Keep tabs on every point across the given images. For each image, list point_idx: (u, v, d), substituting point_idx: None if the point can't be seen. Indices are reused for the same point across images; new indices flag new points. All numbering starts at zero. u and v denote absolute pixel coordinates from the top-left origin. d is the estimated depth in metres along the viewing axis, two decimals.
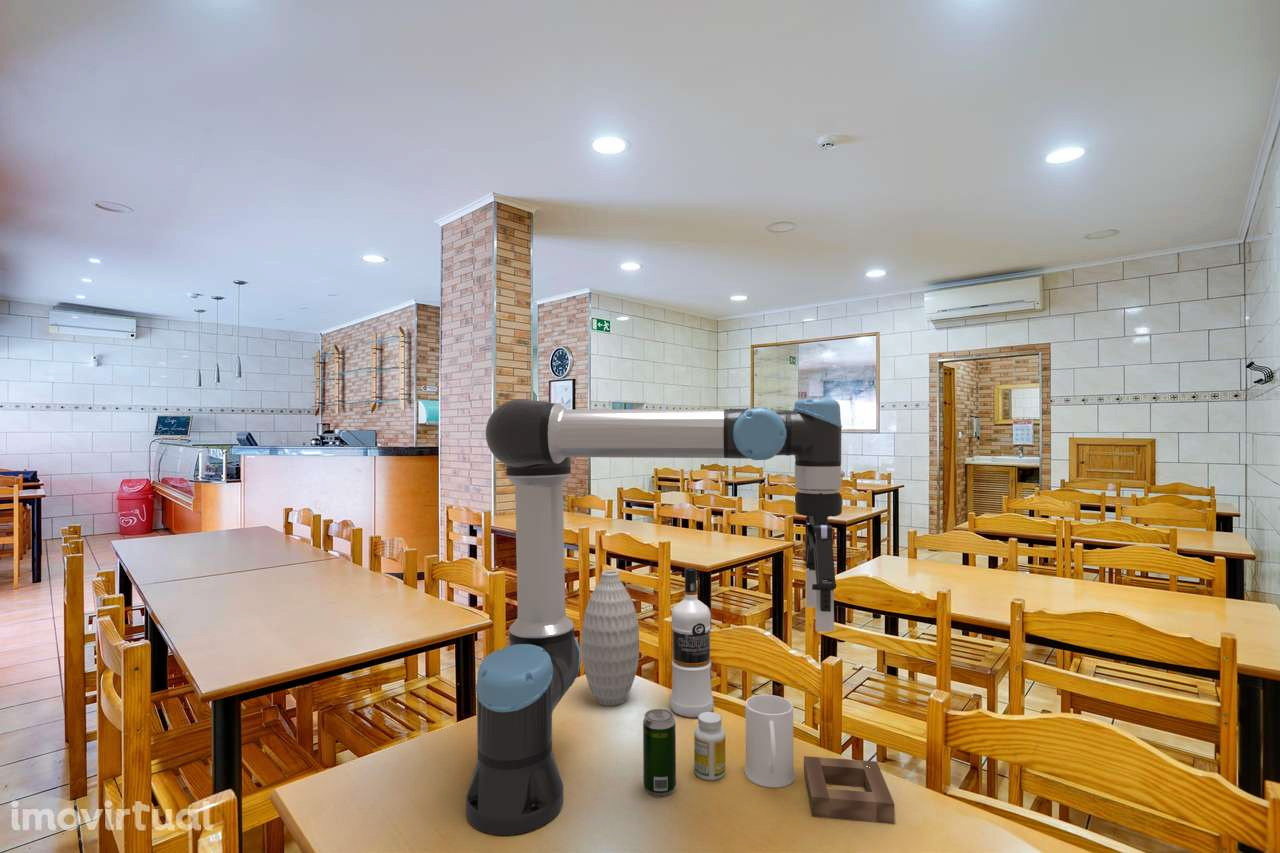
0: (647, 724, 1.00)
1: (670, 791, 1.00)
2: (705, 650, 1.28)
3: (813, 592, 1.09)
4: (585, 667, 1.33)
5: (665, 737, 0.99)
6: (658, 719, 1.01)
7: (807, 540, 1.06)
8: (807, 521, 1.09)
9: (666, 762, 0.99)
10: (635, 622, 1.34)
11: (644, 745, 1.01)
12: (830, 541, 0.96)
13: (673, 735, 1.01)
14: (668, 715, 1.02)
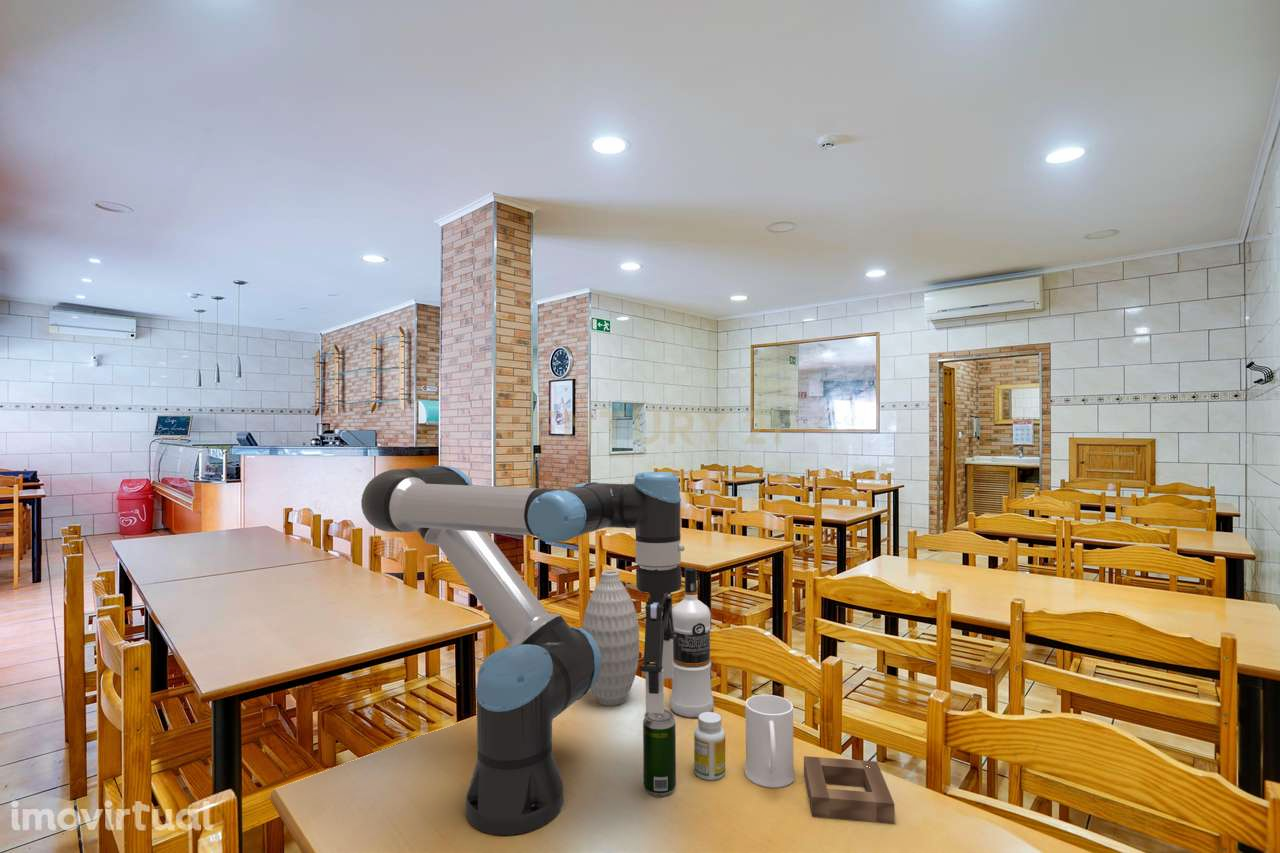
0: (647, 724, 1.00)
1: (670, 791, 1.00)
2: (705, 650, 1.28)
3: (664, 663, 1.08)
4: None
5: (665, 737, 0.99)
6: (658, 719, 1.01)
7: None
8: None
9: (666, 762, 0.99)
10: (635, 622, 1.34)
11: (644, 745, 1.01)
12: (659, 621, 0.95)
13: (673, 735, 1.01)
14: (668, 715, 1.02)
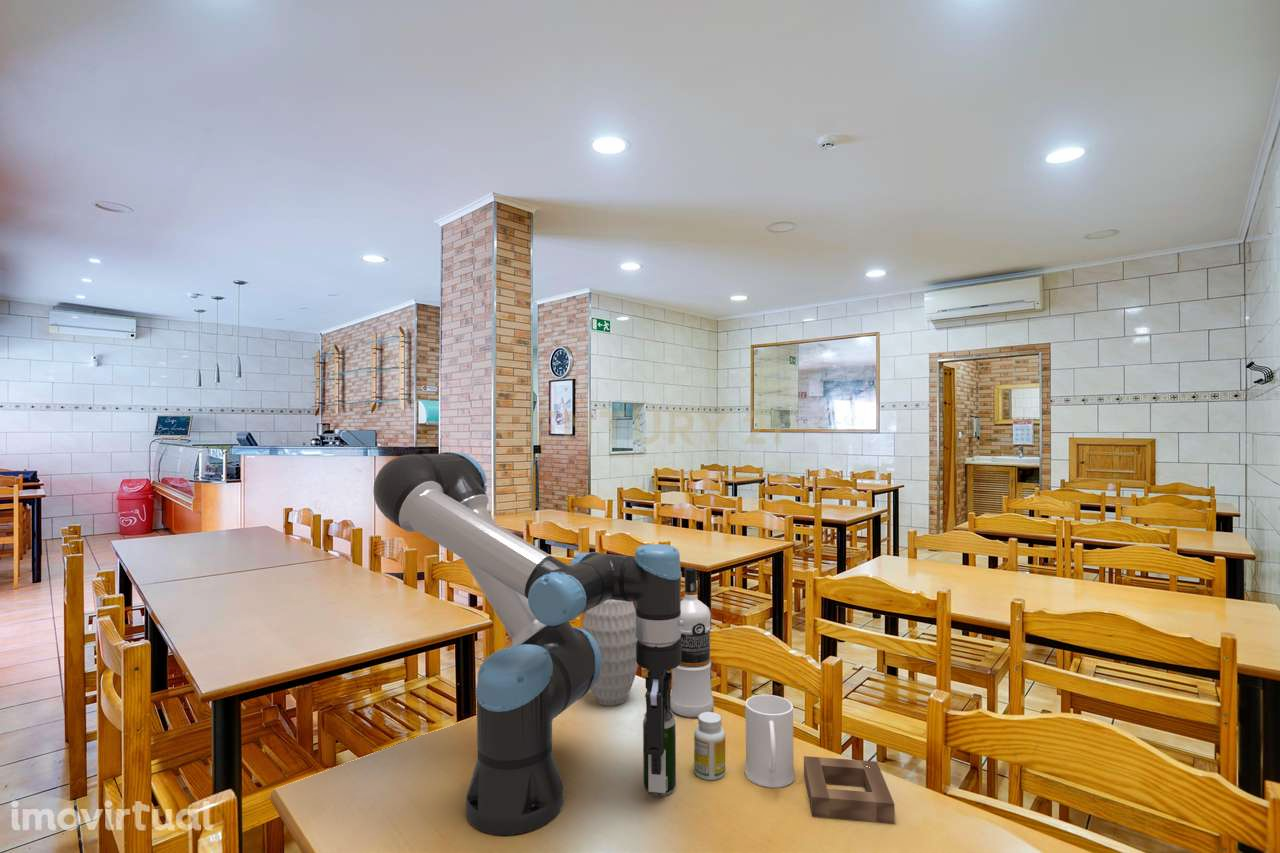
0: None
1: (670, 791, 1.00)
2: (705, 650, 1.28)
3: None
4: None
5: (665, 737, 0.99)
6: None
7: None
8: None
9: (666, 762, 0.99)
10: (635, 622, 1.34)
11: (644, 745, 1.01)
12: (659, 709, 0.96)
13: (673, 735, 1.01)
14: (668, 715, 1.02)
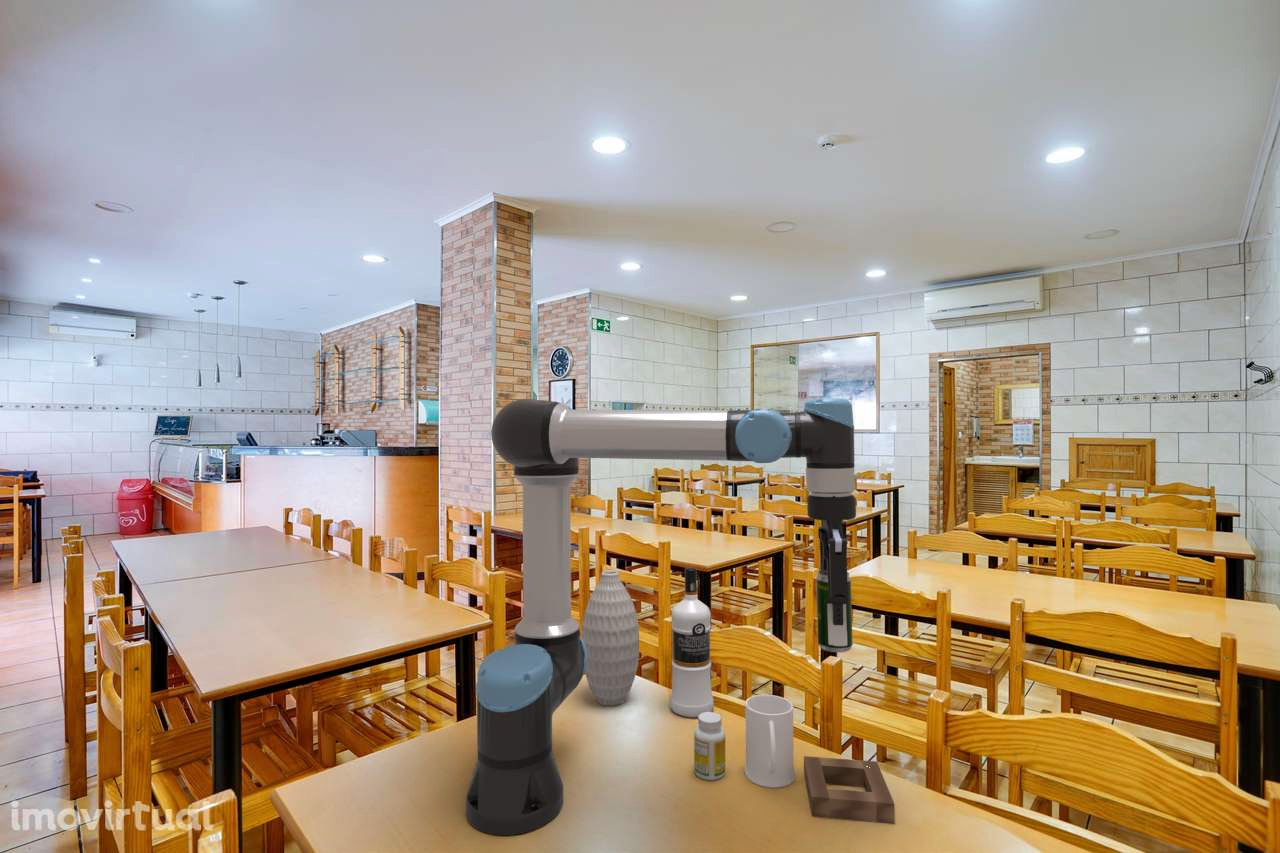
0: (823, 579, 0.98)
1: (849, 647, 0.97)
2: (705, 650, 1.28)
3: None
4: None
5: None
6: None
7: (821, 548, 1.01)
8: None
9: None
10: (635, 622, 1.34)
11: (819, 602, 0.99)
12: (844, 555, 0.93)
13: (850, 591, 0.98)
14: None
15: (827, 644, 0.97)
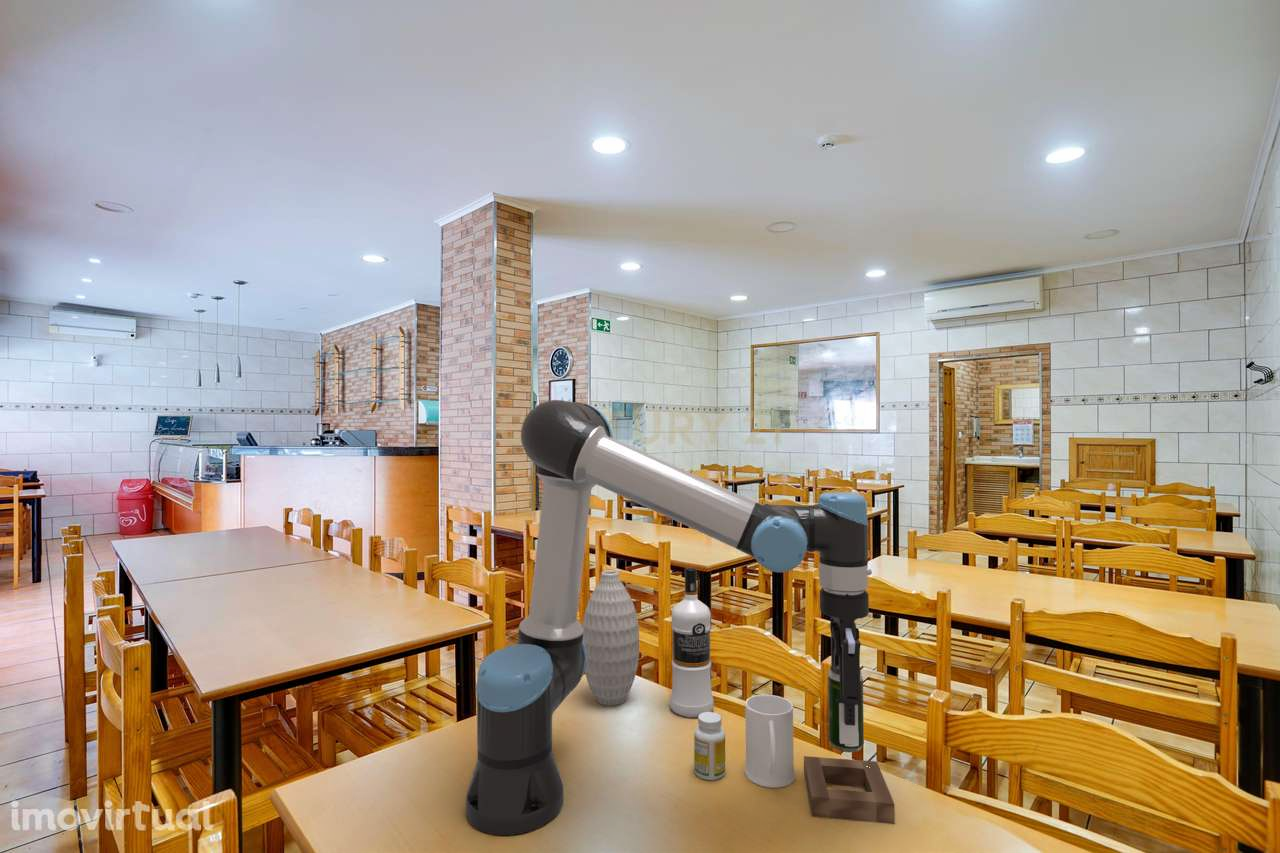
0: (835, 678, 0.98)
1: (860, 747, 0.97)
2: (705, 650, 1.28)
3: None
4: None
5: None
6: None
7: (833, 641, 1.01)
8: (831, 622, 1.05)
9: None
10: (635, 622, 1.34)
11: (831, 701, 0.98)
12: (857, 657, 0.93)
13: (862, 689, 0.98)
14: None
15: (838, 744, 0.97)
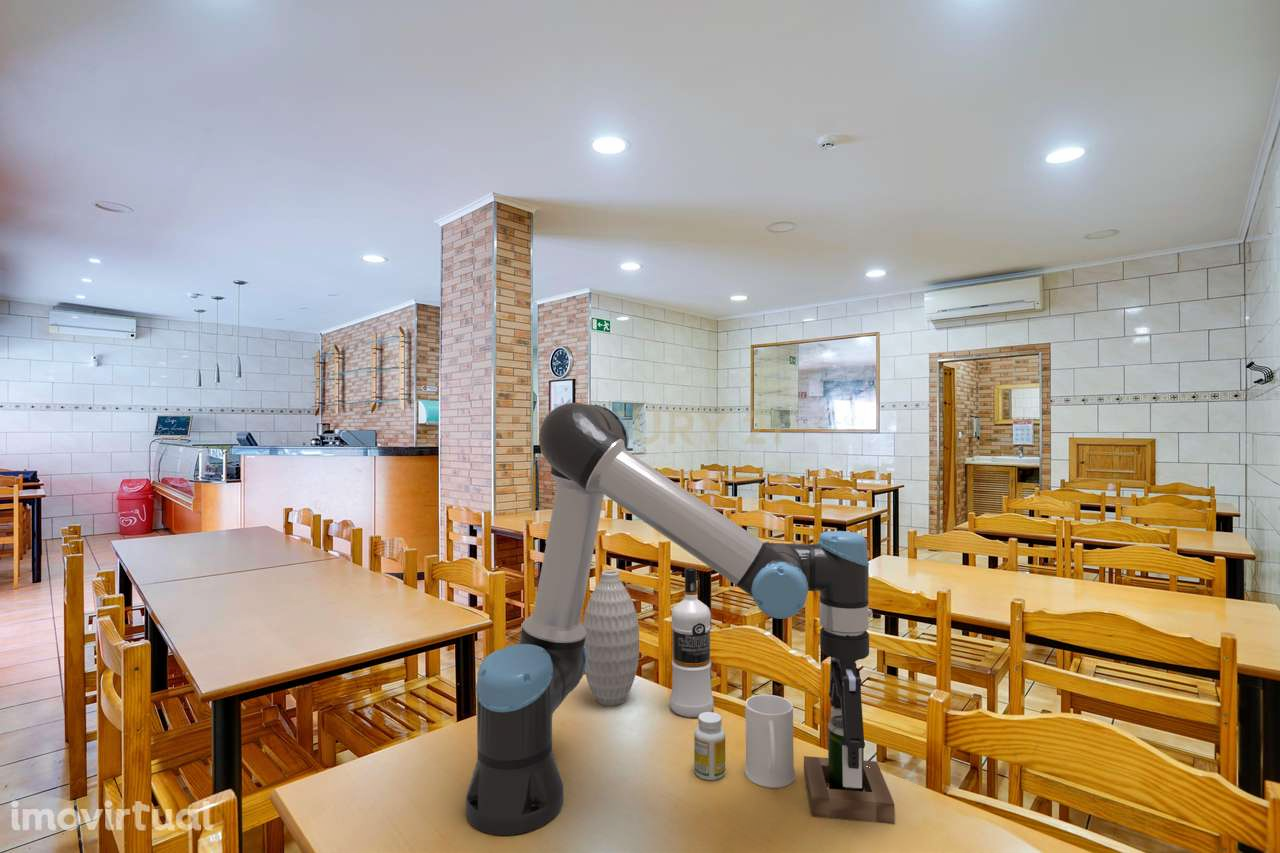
0: (836, 731, 0.97)
1: None
2: (705, 650, 1.28)
3: None
4: None
5: None
6: None
7: (832, 678, 1.02)
8: None
9: None
10: (635, 622, 1.34)
11: (831, 753, 0.98)
12: (859, 695, 0.92)
13: None
14: None
15: None
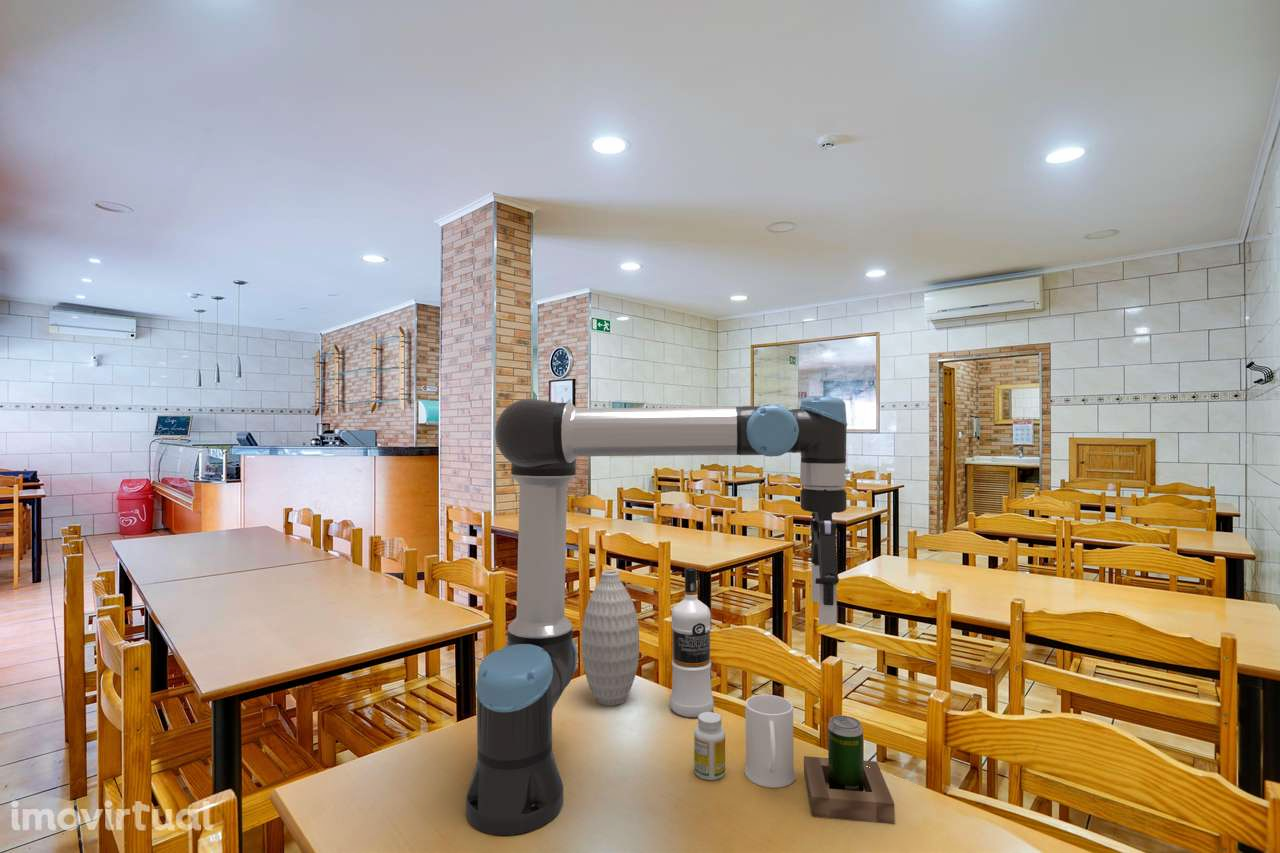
0: (836, 731, 0.97)
1: None
2: (705, 650, 1.28)
3: (818, 587, 1.11)
4: (585, 667, 1.33)
5: (857, 745, 0.97)
6: (847, 726, 0.98)
7: (812, 536, 1.08)
8: (813, 517, 1.11)
9: (857, 771, 0.97)
10: (635, 622, 1.34)
11: (831, 753, 0.98)
12: (833, 536, 0.98)
13: (862, 742, 0.98)
14: (854, 722, 0.99)
15: None
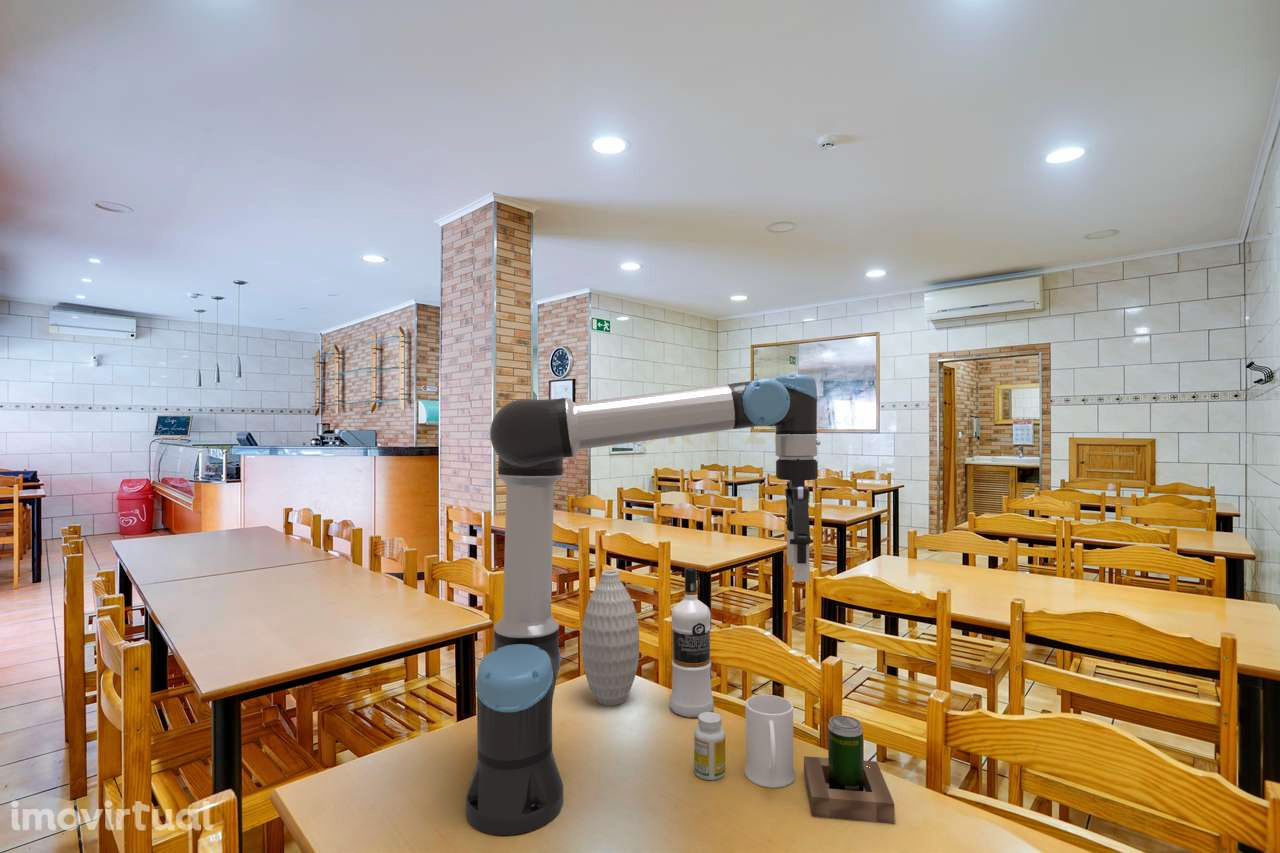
0: (835, 731, 0.97)
1: None
2: (705, 650, 1.28)
3: None
4: (585, 667, 1.33)
5: (857, 745, 0.97)
6: (847, 726, 0.98)
7: (787, 503, 1.17)
8: (787, 487, 1.20)
9: (857, 771, 0.97)
10: (635, 622, 1.34)
11: (831, 754, 0.98)
12: (806, 501, 1.07)
13: (862, 742, 0.98)
14: (854, 722, 0.99)
15: None
